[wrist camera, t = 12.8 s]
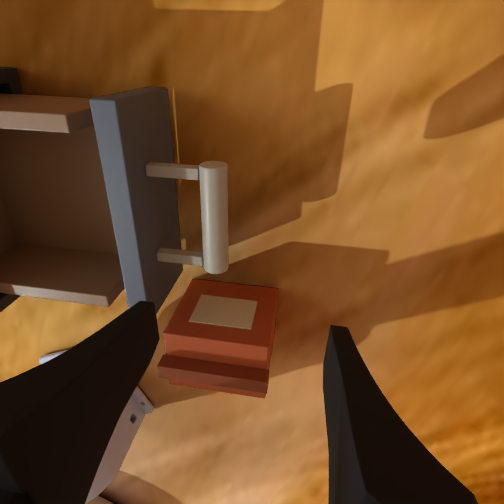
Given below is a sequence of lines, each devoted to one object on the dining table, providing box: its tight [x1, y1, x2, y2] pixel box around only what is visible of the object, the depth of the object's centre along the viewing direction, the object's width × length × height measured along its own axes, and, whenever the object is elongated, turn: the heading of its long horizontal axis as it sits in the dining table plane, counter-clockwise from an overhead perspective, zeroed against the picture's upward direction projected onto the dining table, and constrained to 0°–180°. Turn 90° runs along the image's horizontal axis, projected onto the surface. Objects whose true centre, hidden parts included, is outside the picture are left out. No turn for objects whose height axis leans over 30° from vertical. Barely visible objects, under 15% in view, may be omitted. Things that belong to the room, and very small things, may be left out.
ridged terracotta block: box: [157, 279, 278, 398], centre depth 24 cm, size 7×5×7 cm
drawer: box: [0, 87, 228, 314], centre depth 20 cm, size 17×12×6 cm
